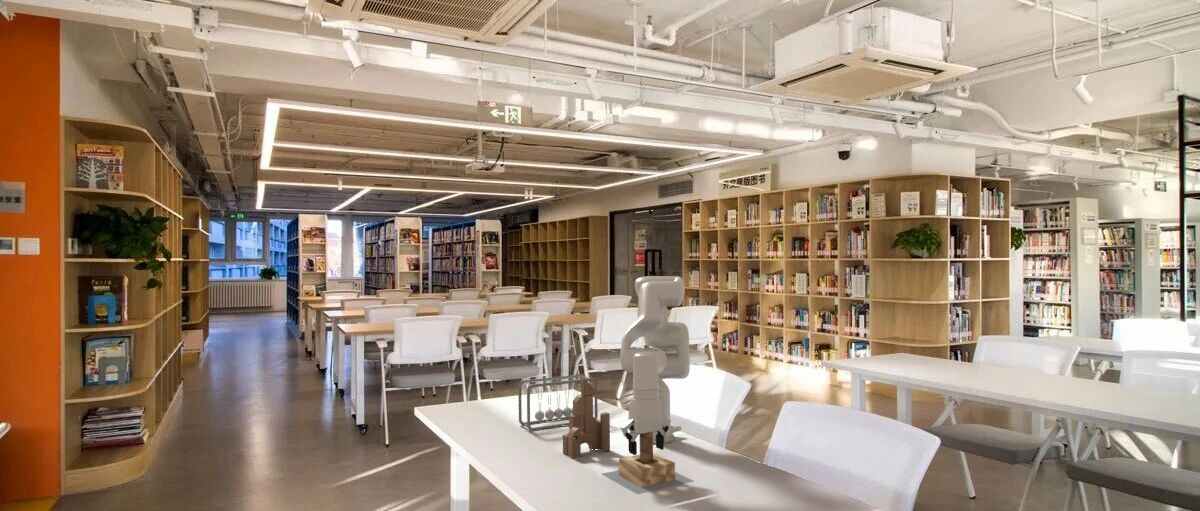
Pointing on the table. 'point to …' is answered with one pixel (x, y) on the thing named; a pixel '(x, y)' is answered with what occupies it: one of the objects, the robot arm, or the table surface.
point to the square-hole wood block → (646, 470)
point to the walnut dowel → (646, 448)
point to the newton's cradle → (549, 413)
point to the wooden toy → (586, 424)
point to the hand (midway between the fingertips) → (646, 451)
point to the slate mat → (637, 489)
